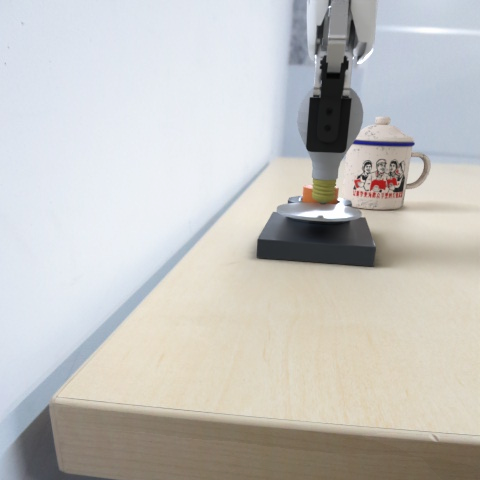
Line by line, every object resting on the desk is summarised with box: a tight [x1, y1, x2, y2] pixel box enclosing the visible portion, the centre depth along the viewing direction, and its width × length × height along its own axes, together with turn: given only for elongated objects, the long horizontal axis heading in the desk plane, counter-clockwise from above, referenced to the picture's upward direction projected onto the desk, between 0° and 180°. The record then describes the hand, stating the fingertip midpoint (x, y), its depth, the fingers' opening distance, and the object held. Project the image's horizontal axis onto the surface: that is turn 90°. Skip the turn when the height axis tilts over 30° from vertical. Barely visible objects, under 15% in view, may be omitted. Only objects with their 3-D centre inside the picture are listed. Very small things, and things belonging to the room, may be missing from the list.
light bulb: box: [297, 87, 364, 205], centre depth 43 cm, size 5×6×10 cm
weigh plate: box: [276, 202, 363, 222], centre depth 45 cm, size 8×8×1 cm
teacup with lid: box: [341, 116, 432, 211], centre depth 68 cm, size 12×9×12 cm
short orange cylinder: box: [302, 184, 340, 204], centre depth 51 cm, size 4×4×2 cm
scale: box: [256, 195, 377, 267], centre depth 48 cm, size 14×10×4 cm
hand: (325, 147), depth 43 cm, fingers closed on light bulb, 5 cm apart
